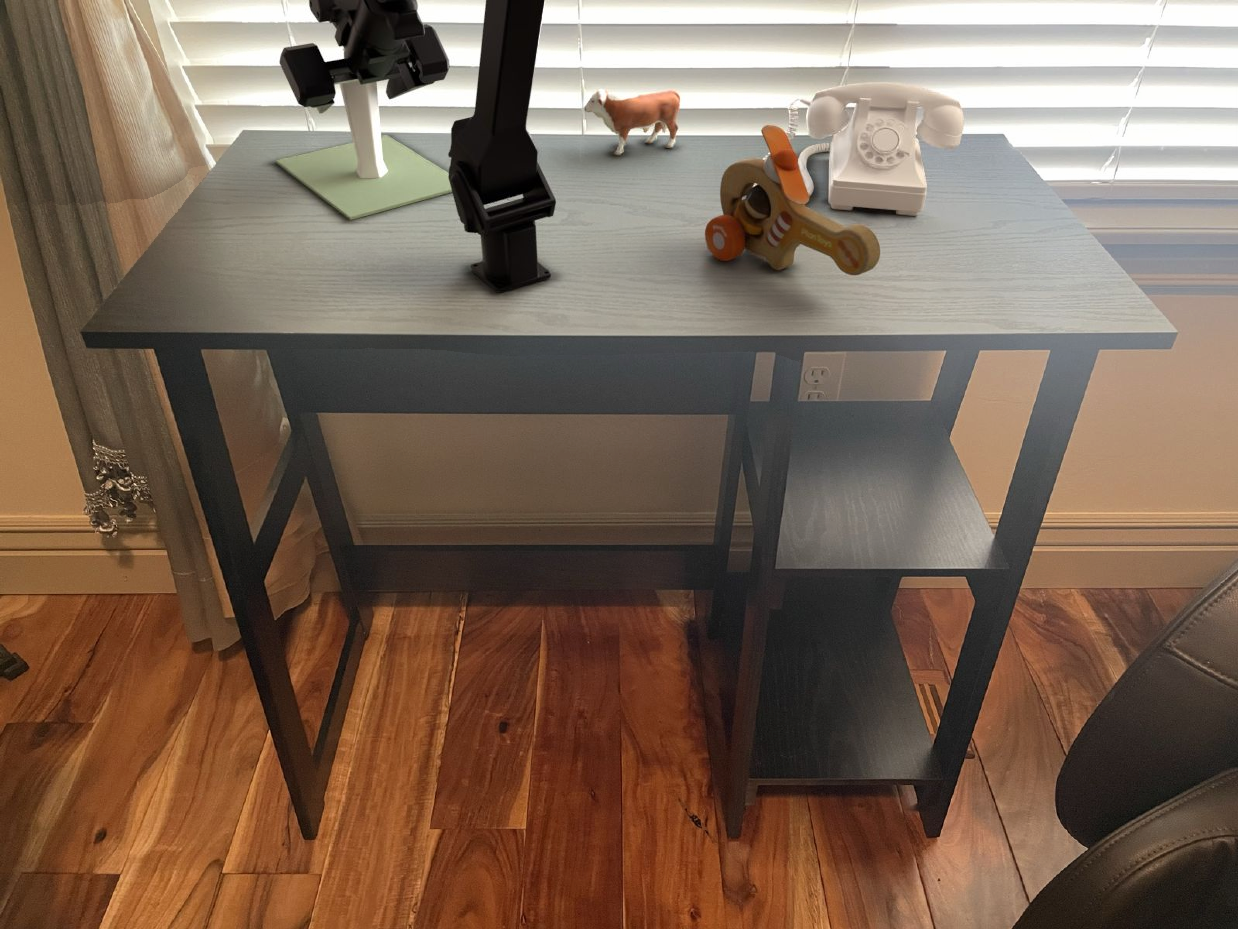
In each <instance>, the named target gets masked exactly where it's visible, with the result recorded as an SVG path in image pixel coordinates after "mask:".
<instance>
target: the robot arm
mask: <svg viewBox="0 0 1238 929" xmlns="http://www.w3.org/2000/svg"><path fill="white" fill-rule="evenodd" d="M308 6H309V10H310V11H311V13H312V15H313V16H314V18H315V19H316V20H317V22H318V23H321V24H322V23H327V22H328V23H329V24H332V25H333V26H334V28H335V29H336V30H335V33H334V39H335V41H336V44H337V46H338V47H343V49H344V51H343V58H340V59H339V58H338V59H333V60H328V61H326V60H325V59H324V56H323V55H322V53H321V51H320V48H319V46H318V45H317V44H315V43H313V42H310V43H304V44H299V45H291V46H285V47H283V49H282V51H281V52H280V57H279V66H280V67H281V69H282V72H283V74H284V76H285V78H286V80H287V82H288V84H289V87H290V90H291V92H292V94H293V95H294V97H295V100H296V102H297V104H298V105H300V106H302V107H303V108H309V107H310V108H312V109H315V108H316V109H317V111H318V114H323V113H325V112H327V111H328V109H330V108H331V107H332V106H333V105H334V104H335V100H334V99H335V97H336V95H337V91H336V85H340V84H341V83H346V82H351V81H357V80H359V82H360V84H361V85H362V84H367V83H373V82H377V83H378V82H383V81H387V83H386V88H385V95H386V96H387V98H388V100H393V99H396V98H398V97H400V96H403V95H405V94H408V93H410V92H413V91H415V90H419V89H421V88H424V87H427V86H430V85H433V84H435V83H436V82H441V81H444V80H445V79H446V77H447V74H448V72H449V70H450V67H451V65H450V59H449V57H448V55H447V53H446V51H445V48H444V46H443V44H442V41H441V39H440V37H439V35H438V33H437V31H436V29H435V28H434V27H433V26H431V25H429V24H428V23H423V20H422V19H421V17H420V15H419V12H418V8H419V3H418V0H308ZM484 6H485V7H484V16H483V25H482V35H481V45H480V55H479V64H478V65H479V66H478V73H477V74H478V76H477V85H476V95H475V103H474V111H473V114H472V116H469V117H465V118H460V119H457V120H454V121H453V123H452V126H451V129H450V148H449V150H448V154H447V156H448V158H450V165H449V167H448V173H449V176H448V178H449V182H450V185H451V189H452V192H451V193H452V196H453V201H454V204H455V208H456V211H457V215H458V217H459V221H460V223H462V224H463V228H464V232H466V233H469V234H478V235H479V236H480V245H481V246H480V247H481V256H482V261H478V262H474V263H471V265H470V270H471V271H472V272H473V273H474V274H475V275H476V276H477V277H479V278H480V279H481V280H482V281H483V282H485V283H486V284H487V285H488V286H489V287H490V288H492V289H493V290H494V291H495V292H497V293H503V292H507V291H510V290H515V289H517V288H521V287H524V286H528V285H531V284H534V283H537V282H540V281H544V280H547V279H550V278H551V277H552V272H551V271H550V270H549V269H548V268H546V267H545V266H544V265H543V264H541V263H540V262H539V261H538V241H537V240H538V239H537V225H536V221H538V220H542V219H545V218H551V217H554V214H555V209H556V204H557V200H556V197H555V195H554V193H553V191H552V189H551V187H550V185H549V183H548V181H547V179H546V176H545V174H544V172H543V169H542V168H541V166H540V163H539V161H538V160H539V159H538V157H539V156H538V155H539V149H538V147H537V145H536V144H535V141H534V139H533V137H532V136H531V134H530V132H529V130H528V127H527V122H528V114H529V109H530V104H531V102H530V101H531V95H532V89H533V82H534V76H535V70H536V63H537V56H538V49H539V44H540V36H541V30H542V24H543V18H544V11H545V6H546V0H485V5H484ZM521 195H522V197H521V198H518V199H514V200H510V201H506V202H503V203H500V204H497V205H493V206H490V207H486V208H485V206H486V205H489V204H493V203H497V202H500V201H504V200H507V199H510V198H514V197H517V196H521Z"/></svg>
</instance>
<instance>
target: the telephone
mask: <svg viewBox="0 0 1238 929" xmlns="http://www.w3.org/2000/svg"><path fill="white" fill-rule="evenodd" d="M797 101H799V102H800V103H802V104H803V105H805V106H807V110H806V115H805V116H806V118H805V120H806V121H805V122H806V128H807V134H808V136H809V137H810V138H811V139H814V140H822V139H826V138H829V137H831V136H833V137H832V138H831V142H830V143H829V142H826V143H825V142H823V143H816V144H812V145H810V146H807V147H806V148H804V149H803V150H802V151H801V153H800V154H799V157H798V164H799V167H800V172H801V174H802V178H803V181H804V183H805V186H806V189H807V191H808V194H809V198H810V197H811V196H812V194H813V192H814V189H815V187H814V186H815V185H814V182H813V179H812V177H811V175H810V173H809V171H808V169H807V162H808V159H809V157H810V156H812V155H814V154H817V153H823V152H829V154H828V197H827V198H828V202H827V203H828V204H829V205H830V208H831V209H833V210H841V211H853V209H854V207H856V208H866V209H867V208H868V209H880V210H889V211H891V210H892V211H895V213H896V215H900V216H909V217H911V216H912V217H916V216H918V215H919V213H921V212H923V211H924V208H925V203H926V199H927V189H928V184H927V178H926V174H925V168H924V164H923V163H924V162H923V157H922V152H921V147H920V141H919V139H920V140H921V141H923V142H924V143H926V144H928V145H929V146H932V147H934V148H938V149H941V150H942V149H943V150H952V149H955V148H957V147H958V146H959V145H960V143H961V140H962V136H963V131H964V126H965V116H964V111H963V109H962V105H961V103H960V101H959V100H957V99H955V98H952V97H950V96H948V95H945V94H943V93H940V92H938V91H935V90H932V89H928V88H925V87H923V86H917V85H912V84H908V83H902V82H892V81H891V82H890V81H871V82H858V83H849V84H843V85H838V86H833V87H829V88H824V89H822V90H818V91H816V92H815V94H814V95H813V97H812V99H811V101H810V100H807V99H804V98H797V99H795V100H794V101H793V102H792V103H790V104H789V105H788V106H787V110H788V114H789V115H788V117H789V118H788V121H789V122H788V126H787V127H788V128H787V130H786V131H787V132H785V133H786V135H787V137H788V139H789V141H790V144H791V143H792V141H794V136H796V133H795V132H797V130H798V129H797V128H798V125H799V120H798V119H799V116H798V114H799V112H798V106H794V107H793V105H794V104H795V103H797ZM849 104H855V105H854V109H853V112H852V114H851V115H850V113H849V111H848V110H847V108H846V107H847V105H849ZM919 108H920V109H922V112H923V113H922V119H921V121H920V122H919V124H918V125H917V116H918V111H919ZM792 111H793V112H792ZM794 115H795V116H794ZM795 119H797V120H795ZM916 136H917V137H918V138H919V139H918V138H916ZM769 155H770V152H768V153H767V154H766V155H765V156H764V157H763V158H762V160H765V161H766V159H767V157H768V156H769ZM756 185H758V184H756V183H755V184H754V185H753V187H754V186H756Z"/></svg>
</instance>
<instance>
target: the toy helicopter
mask: <svg viewBox="0 0 1238 929" xmlns="http://www.w3.org/2000/svg"><path fill="white" fill-rule="evenodd" d="M760 131H761V135H762V138H763V140H764V142H765V144H766V146H767V148H768V150H769V153H770V155H767V156H768V157H767V159H766V160H763V158H759V157H747V158H743V159H740V160H738V161H736V162H734V163H732V164H730V165H729V166H728V167H727V168H726V169H725V170H724V172H723V174H722V176H721V181H720V189H719V197H720V207H721V210H722V215H719V216H715V217H714V218H711V219H710V220H709V221H708V223H707V224H706V226H705V230H704V239H705V244H706V246H707V249H708V250H709V252H710V254H711V255H712V256H713V257H714V258H715V259H717V260H718V261H721V262H728V261H732V260H733V259H737V258H738V257H739V256H740V255H742V253H743V252H744V250H747V251H748V252H750V253H752V254H754V255H756V256H759V257H762V258H764V259H765V260H766V261H767V262H768V264H769V266H770V267H771V268H772V269H773V270H775V271H781V270H784V269H786V268H788V267H790V266H792V265H793V263H794V260H795V252H796V249H797V248H798V247H799V246H800V245H802V246H804V247H806V248H809V249H811V250H813V251H816V252H819V253H821V254H823V255H825V256H827V257H830V259H832V260H833V262H834V263H835V265H836V266H837V268H838V269H839V270H840V271H842V272H843V273H845V274H846V275H849V276H860V275H862V274H865V273H867V272H869V271H871V270H873V269H874V268H875V267H876V266H877V265H878V263H879V260H880V257H881V245H880V242H879V240H878V238H877V235H876V234H875V233H874V231H872V229H870V228H869V227H868V226H866V225H864V224H862V223H853V224H850V225H847V226H846V225H843V224H840V223H839V222H837V221H835V220H833V219H831V218H829V217H827V216H825V215H823V214H821V213H820V212H818V211H815V210H813V209H811V208H809V207H807V205H805V204H807V203H808V202H809V201H810V197H809V194H808V191H807V189H806V186H805V183H804V181H803V178H802V174H801V172H800V167H799V164H798V159H799V157H798V155H797V153H796V152H795V150H794V148H793V146H792V144H791V143H790V141H789V139H788V137H789V136H788V135H787V134H786V133H787V132H786V131H785V130H784V129H782V127H780V126H777V125H775V124H767V125H764V126H762V128H761V130H760ZM787 136H788V137H787ZM755 183H756V184H758V185H756V186H754V187H753V185H754V184H755ZM744 197H745V198H744ZM743 198H744V199H743Z"/></svg>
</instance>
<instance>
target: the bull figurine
mask: <svg viewBox="0 0 1238 929" xmlns="http://www.w3.org/2000/svg"><path fill="white" fill-rule="evenodd" d="M680 96H681V95H679V93H678V92H677V91H675V90H673V89H671V90H666V91H658V92H652V93H646V94H629V93H628V94H623V93H620V92H617V91H615V92H611V93H608V91H607V90H604V89H602V88H599V89H597V91H596V92H595V93H593V94H592V95H591V97H590V99H589V100H588V101H587V103H586V104H585V105H584V106H583V109H584V111H585V113H593V114H594V115H595V116H596V117H598V118H601V119H602V121H603V123H604V125H605V126H606V127H607V128H608V129H609V130H610V131H611V133H614V134H615V135H617V136H618V141H619V142H618V144H617V148H616V150H615V151H614V153H613V155H615V156H621V155H622V153H624V150H625V149H624V147H625V146H627V138H628V135H629V133H630V131H631V130H633V129H640V130H641V129H642V131H643V133H647V132H648V131H649V129H650V128H651V127H653V126H654V127H653V131H652V132H651V134H650V135H649V136H648V137H647V139H646V140H645V143H646V144H653V142H654V141H657V139H658V135H659V133H660V131H662V133H663V134H666V132H667V131H668V132H669V139H668V141H667V142H666V145H665V148H667V149H671V148H673V147H674V145H675V144H676V136H677V132H678V130H679V126H678V124H677V121H676V119H677V116H678V114H679V111H680V106H681V104H680V103H681V97H680Z"/></svg>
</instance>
